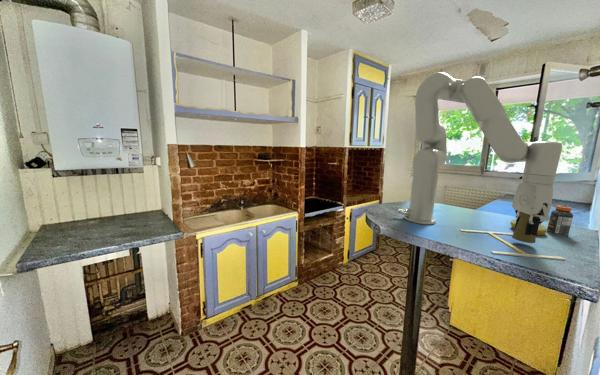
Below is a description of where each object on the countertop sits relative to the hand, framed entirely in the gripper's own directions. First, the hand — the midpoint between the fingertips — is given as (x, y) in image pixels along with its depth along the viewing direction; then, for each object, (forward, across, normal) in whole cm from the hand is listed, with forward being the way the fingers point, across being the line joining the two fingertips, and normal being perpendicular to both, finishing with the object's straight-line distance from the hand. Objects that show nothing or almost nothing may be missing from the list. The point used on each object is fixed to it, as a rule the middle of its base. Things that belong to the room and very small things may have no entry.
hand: (525, 231), depth 83 cm
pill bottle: (+5, -15, +23) cm, 28 cm away
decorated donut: (+5, -16, +13) cm, 21 cm away
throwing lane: (+5, 0, -5) cm, 7 cm away
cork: (+3, 0, 0) cm, 3 cm away
